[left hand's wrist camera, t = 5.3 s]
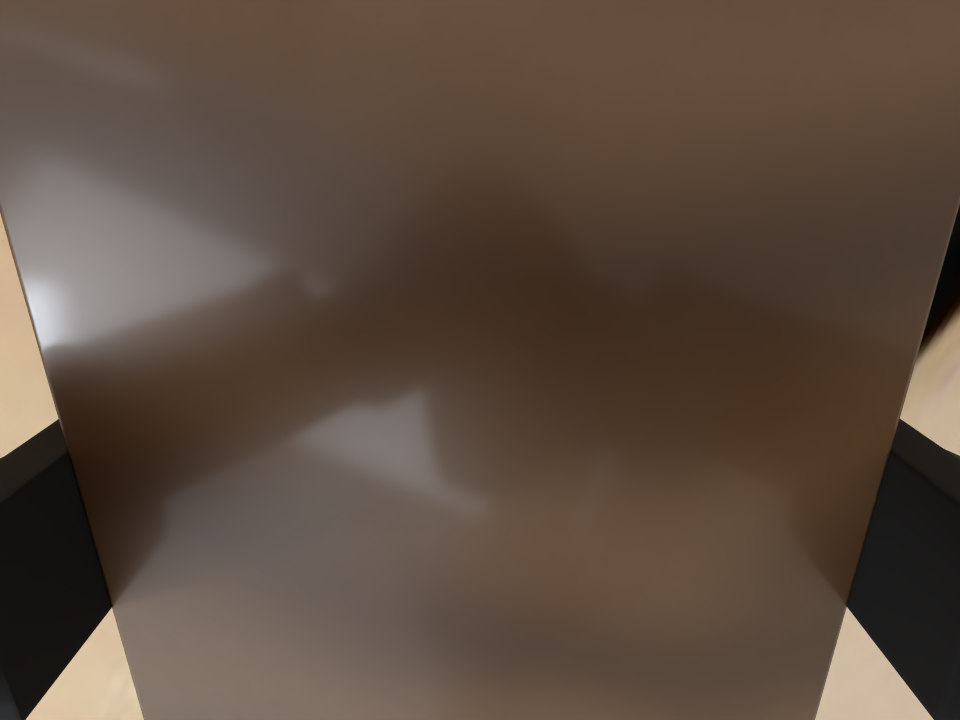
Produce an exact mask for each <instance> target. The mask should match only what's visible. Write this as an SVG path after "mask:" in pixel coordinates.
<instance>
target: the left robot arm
mask: <svg viewBox="0 0 960 720" xmlns="http://www.w3.org/2000/svg"><path fill="white" fill-rule="evenodd" d="M847 607H848V609H849V610H850V611H851V613H852V614H853V615H854V616H855V618H856V619H857V620H858V622H859V623H860V624H861V626H862V627H863V628H864V629H865V631H866V632H867V633H868V635H869V636H870V637H871V639H872V640H873V641H874V642H875V644H876V645H877V646H878V648H879V649H880V650H881V651H882V653H883V654H884V655H885V657H886V658H887V659H888V661H889V662H890V663H891V664H892V666H893V667H894V668H895V670H896V671H897V672H898V674H899V675H900V676H901V677H902V679H903V680H904V681H905V683H906V684H907V685H908V687H909V688H910V689H911V690H912V692H913V693H914V694H915V696H916V697H917V698H918V700H919V701H920V702H921V703H922V705H923V706H924V707H925V709H926V710H927V711H928V713H929V714H930V715H931V716H932V718H933V719H934V720H960V456H959V455H956V454H954V453H952V452H950V451H947V450H945V449H943V448H942V447H940V446H939V445H937V444H936V443H934V442H933V441H931V440H930V439H929V438H927V437H926V436H924V435H923V434H921V433H920V432H918V431H917V430H915V429H914V428H913V427H911V426H910V425H908V424H907V423H905V422H904V421H902V420H901V419H899V422H898V426H897V429H896V433H895V436H894V440H893V443H892V447H891V450H890V454H889V458H888V461H887V465H886V468H885V472H884V475H883V479H882V483H881V486H880V490H879V493H878V497H877V500H876V504H875V507H874V511H873V515H872V518H871V522H870V525H869V529H868V532H867V536H866V540H865V543H864V547H863V550H862V554H861V557H860V561H859V564H858V568H857V572H856V575H855V579H854V582H853V586H852V589H851V593H850V596H849V600H848V604H847ZM111 608H112V605H111V601H110V598H109V594H108V591H107V587H106V584H105V580H104V577H103V573H102V570H101V566H100V562H99V559H98V555H97V552H96V548H95V545H94V541H93V538H92V534H91V531H90V527H89V524H88V520H87V517H86V513H85V510H84V506H83V503H82V499H81V495H80V492H79V488H78V485H77V481H76V478H75V474H74V471H73V467H72V464H71V460H70V457H69V453H68V450H67V446H66V443H65V439H64V436H63V432H62V428H61V425H60V421H59V419H58V420H57V421H55V422H54V423H53V424H51V425H50V426H48V427H47V428H45V429H44V430H42V431H41V432H39V433H38V434H37V435H35V436H34V437H32V438H31V439H29V440H28V441H26V442H25V443H23V444H22V445H21V446H19V447H18V448H16V449H15V450H13V451H12V452H10V453H9V454H7V455H6V456H4V457H2V458H0V720H25V719H26V718H27V717H28V716H29V714H30V713H31V712H32V710H33V709H34V708H35V706H36V705H37V704H38V703H39V701H40V700H41V699H42V697H43V696H44V695H45V693H46V692H47V691H48V690H49V688H50V687H51V686H52V684H53V683H54V682H55V680H56V679H57V678H58V677H59V675H60V674H61V673H62V671H63V670H64V669H65V667H66V666H67V665H68V664H69V662H70V661H71V660H72V658H73V657H74V656H75V655H76V653H77V652H78V651H79V649H80V648H81V647H82V645H83V644H84V643H85V642H86V640H87V639H88V638H89V636H90V635H91V634H92V632H93V631H94V630H95V629H96V627H97V626H98V625H99V623H100V622H101V621H102V619H103V618H104V617H105V616H106V614H107V613H108V612H109V610H110V609H111Z"/></svg>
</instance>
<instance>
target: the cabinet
mask: <svg viewBox="0 0 960 720" xmlns="http://www.w3.org/2000/svg"><path fill="white" fill-rule="evenodd" d="M959 205H960V0H0V213H1V217H2V220H3V224H4V227H5V231H6V234H7V238H8V242H9V245H10V249H11V252H12V256H13V259H14V263H15V266H16V270H17V273H18V277H19V280H20V284H21V287H22V291H23V294H24V298H25V301H26V305H27V309H28V312H29V316H30V319H31V323H32V326H33V330H34V333H35V337H36V340H37V344H38V347H39V351H40V354H41V358H42V361H43V365H44V368H45V372H46V376H47V379H48V383H49V386H50V390H51V393H52V397H53V400H54V404H55V407H56V411H57V414H58V418H59V421H60V425H61V428H62V432H63V436H64V439H65V443H66V446H67V450H68V453H69V457H70V460H71V464H72V467H73V471H74V474H75V478H76V481H77V485H78V488H79V492H80V495H81V499H82V503H83V506H84V510H85V513H86V517H87V520H88V524H89V527H90V531H91V534H92V538H93V541H94V545H95V548H96V552H97V555H98V559H99V562H100V566H101V570H102V573H103V577H104V580H105V584H106V587H107V591H108V594H109V598H110V601H111V605H112V608H113V612H114V615H115V619H116V622H117V626H118V629H119V633H120V637H121V640H122V644H123V647H124V651H125V654H126V658H127V661H128V665H129V668H130V672H131V675H132V679H133V682H134V686H135V689H136V693H137V696H138V700H139V704H140V707H141V711H142V714H143V718H144V720H815V718H816V714H817V710H818V707H819V703H820V700H821V696H822V693H823V689H824V686H825V682H826V678H827V675H828V671H829V668H830V664H831V661H832V657H833V653H834V650H835V646H836V643H837V639H838V636H839V632H840V629H841V625H842V621H843V618H844V614H845V611H846V607H847V604H848V600H849V596H850V593H851V589H852V586H853V582H854V579H855V575H856V572H857V568H858V564H859V561H860V557H861V554H862V550H863V547H864V543H865V540H866V536H867V532H868V529H869V525H870V522H871V518H872V515H873V511H874V507H875V504H876V500H877V497H878V493H879V490H880V486H881V483H882V479H883V475H884V472H885V468H886V465H887V461H888V458H889V454H890V450H891V447H892V443H893V440H894V436H895V433H896V429H897V426H898V422H899V418H900V415H901V411H902V408H903V404H904V401H905V397H906V393H907V390H908V386H909V383H910V379H911V376H912V372H913V369H914V365H915V361H916V358H917V354H918V351H919V347H920V344H921V340H922V336H923V333H924V329H925V326H926V322H927V319H928V315H929V312H930V308H931V304H932V301H933V297H934V294H935V290H936V287H937V283H938V280H939V276H940V272H941V269H942V265H943V262H944V258H945V255H946V251H947V247H948V244H949V240H950V237H951V233H952V230H953V226H954V223H955V219H956V215H957V212H958V208H959Z"/></svg>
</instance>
